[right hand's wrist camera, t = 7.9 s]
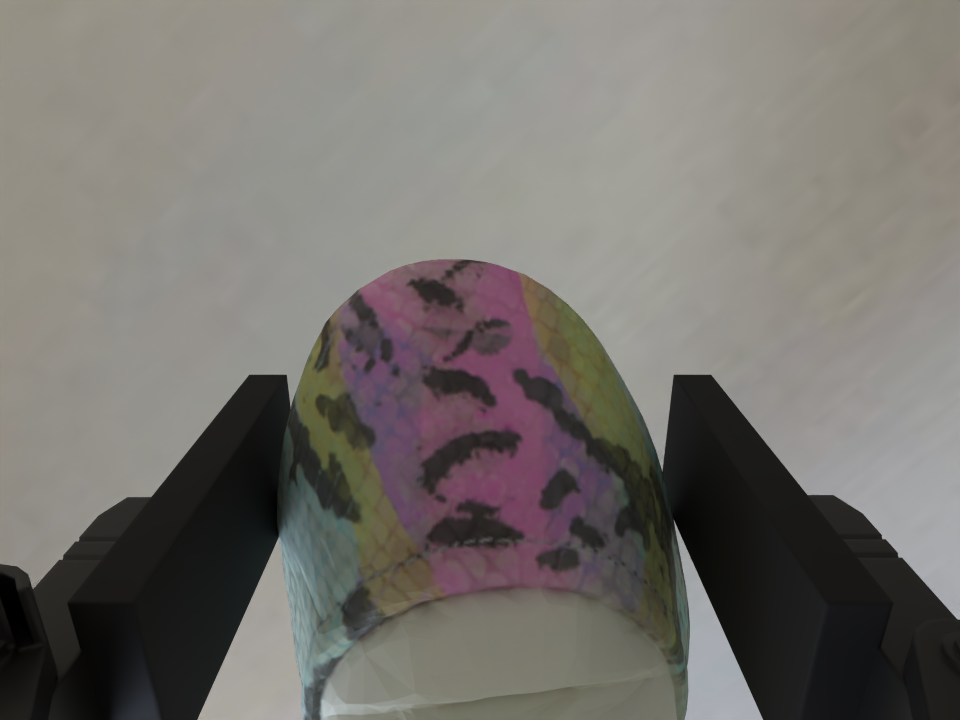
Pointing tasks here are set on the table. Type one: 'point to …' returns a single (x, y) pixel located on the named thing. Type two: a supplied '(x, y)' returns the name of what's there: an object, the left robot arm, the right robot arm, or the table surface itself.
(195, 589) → the right robot arm
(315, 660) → the ballet flat
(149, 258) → the table surface
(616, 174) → the table surface
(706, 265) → the table surface
